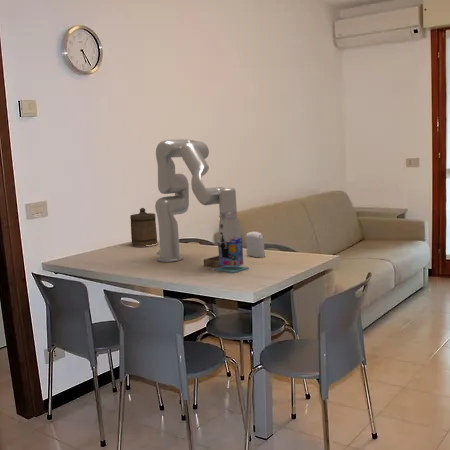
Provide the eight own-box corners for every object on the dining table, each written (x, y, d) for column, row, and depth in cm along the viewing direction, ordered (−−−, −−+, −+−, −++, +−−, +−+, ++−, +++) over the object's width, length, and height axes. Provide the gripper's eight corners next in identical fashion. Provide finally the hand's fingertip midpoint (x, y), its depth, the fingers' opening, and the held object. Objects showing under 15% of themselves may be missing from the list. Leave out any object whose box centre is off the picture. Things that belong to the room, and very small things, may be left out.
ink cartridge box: (218, 265, 248) (216, 233, 246) (224, 263, 252) (222, 231, 251) (238, 266, 243) (237, 233, 241) (243, 264, 248) (242, 232, 246)
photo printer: (245, 255, 278) (244, 231, 277) (252, 254, 281) (250, 230, 279) (259, 258, 270) (258, 233, 269) (266, 256, 273) (265, 232, 271)
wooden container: (160, 242, 333) (157, 206, 331) (153, 247, 319) (151, 209, 316) (136, 243, 336) (133, 207, 333) (128, 247, 321) (125, 210, 318)
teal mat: (213, 270, 249) (213, 268, 248) (228, 266, 256) (228, 264, 256) (233, 273, 240) (233, 271, 240) (248, 268, 248) (248, 267, 248)
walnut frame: (203, 265, 259) (203, 259, 259) (224, 260, 270) (224, 254, 269) (220, 268, 252) (220, 261, 252) (241, 262, 263) (241, 256, 262)
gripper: (221, 218, 236) (223, 260, 238) (247, 214, 249) (249, 253, 251) (208, 218, 241) (210, 258, 244) (234, 213, 254) (236, 252, 256)
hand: (230, 255), depth 247 cm, fingers closed on ink cartridge box, 6 cm apart
